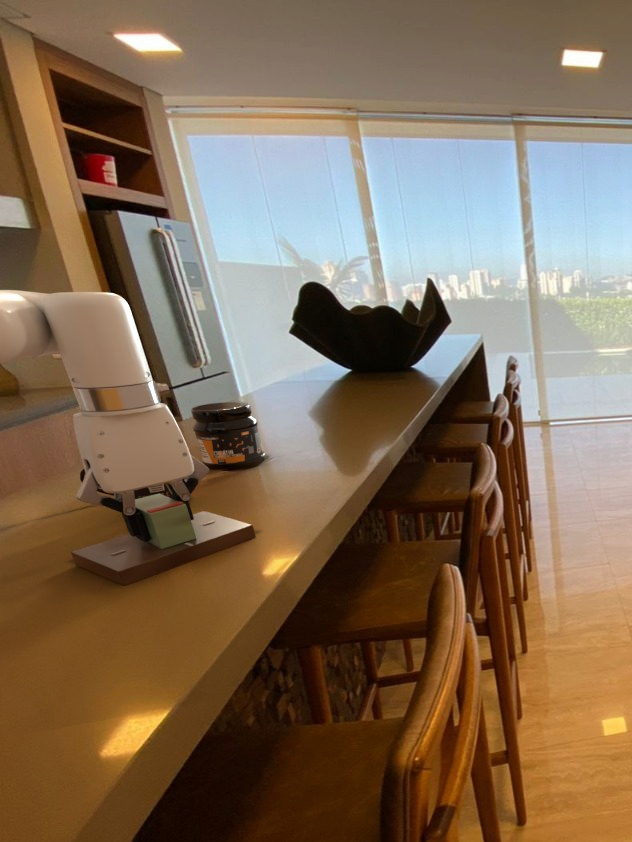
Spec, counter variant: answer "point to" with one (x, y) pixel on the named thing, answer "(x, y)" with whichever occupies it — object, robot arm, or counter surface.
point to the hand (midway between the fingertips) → (164, 531)
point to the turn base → (161, 550)
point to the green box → (166, 520)
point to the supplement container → (228, 436)
